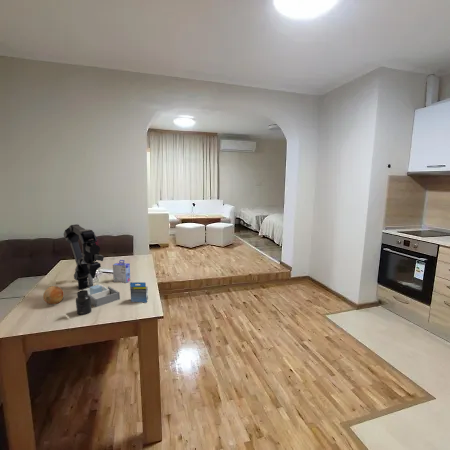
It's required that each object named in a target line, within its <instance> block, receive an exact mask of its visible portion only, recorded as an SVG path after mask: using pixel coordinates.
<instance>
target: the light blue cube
mask: <svg viewBox="0 0 450 450" xmlns="http://www.w3.org/2000/svg"><path fill="white" fill-rule="evenodd" d="M100 285H101V284H96V285H93V286H92V287H90V295H92V294H96V293H99V292H102V287H101V286H100Z"/></svg>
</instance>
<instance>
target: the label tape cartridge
mask: <svg viewBox="0 0 450 450" xmlns="http://www.w3.org/2000/svg"><path fill="white" fill-rule="evenodd" d="M129 286H130V287H129V288H130V289H129V290H130V302H135V303H136V302H137V303H141V302H142V303H143V304H147V303H148V299H149V290H148V286H147V285H146V282H145V281H144V282H140V281H139V282H137V281H136V282H133V281H132V282H131V281H129Z"/></svg>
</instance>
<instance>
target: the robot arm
mask: <svg viewBox="0 0 450 450" xmlns="http://www.w3.org/2000/svg"><path fill="white" fill-rule="evenodd" d="M63 238H64V239H65V242H67V244H70V247H71V250H72V254H73V257H74V261H75V265H76V266H75V269H74V270H75V271H74V274H73V278H74V280H76V281H77V286H76V288H77V289H78V290H79V291H82V290H84V289H88V286H89V284H88V274H90V275H91V277H92V279H95V277H96V273H97V270H98V269H101V267H102V266H101V263H100V262H103V261H104V258H105V256H104V255H102V254H100V251H101V248H100V246H99V245H98V244H97V242H98V238H97V235H96V233H95V231H94V230H93V229H87V228H86V229H85V228H84V227H82V226H81V225H80V224H78V223H77V224H71V225H69V227H68V228H66V229H65V230H64V232H63ZM79 240H80V243H81V246H82V250H81V247H80V243H79ZM99 261H100V262H99Z"/></svg>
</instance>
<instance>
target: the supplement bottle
mask: <svg viewBox="0 0 450 450" xmlns="http://www.w3.org/2000/svg"><path fill="white" fill-rule="evenodd" d="M76 296H77V297H76V298H75V307H76V315H78V316H86V315H89V314H91V313H92V308H93V307H92V304H91V298H90V296H89V295H88V291H87V290H84V289H82V290H79V291H78V292H76Z"/></svg>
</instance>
